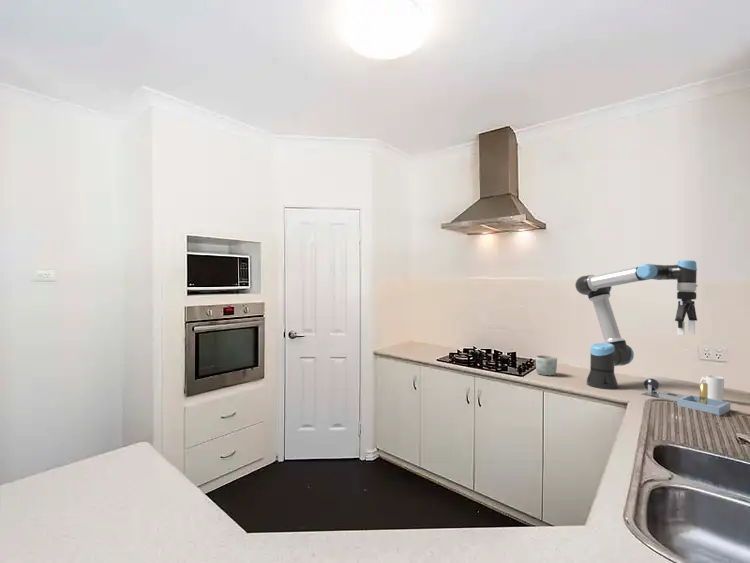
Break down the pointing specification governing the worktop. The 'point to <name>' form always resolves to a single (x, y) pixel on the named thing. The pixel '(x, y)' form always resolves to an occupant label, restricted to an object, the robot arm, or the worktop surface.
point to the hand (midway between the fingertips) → (686, 334)
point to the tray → (712, 407)
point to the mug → (714, 386)
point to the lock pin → (704, 393)
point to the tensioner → (654, 385)
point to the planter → (546, 365)
